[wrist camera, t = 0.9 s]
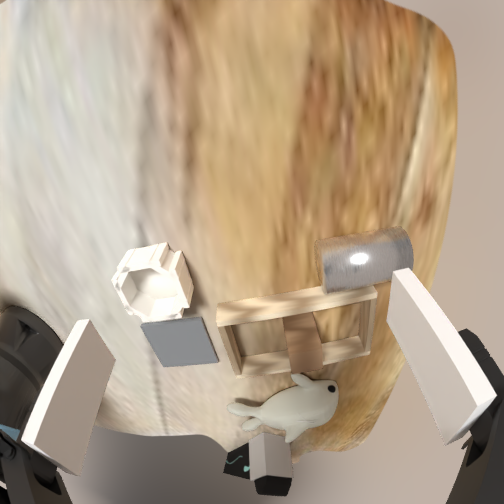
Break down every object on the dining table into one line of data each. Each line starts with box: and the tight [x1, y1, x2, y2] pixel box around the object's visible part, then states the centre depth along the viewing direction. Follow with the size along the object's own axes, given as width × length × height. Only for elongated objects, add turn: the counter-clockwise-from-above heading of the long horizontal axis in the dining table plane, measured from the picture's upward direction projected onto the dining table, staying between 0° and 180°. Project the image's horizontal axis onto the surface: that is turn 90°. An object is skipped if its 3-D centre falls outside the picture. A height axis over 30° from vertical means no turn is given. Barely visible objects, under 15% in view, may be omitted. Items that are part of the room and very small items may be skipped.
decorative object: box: [223, 432, 294, 496], centre depth 54 cm, size 8×18×15 cm, turn 144°
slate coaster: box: [141, 317, 218, 367], centre depth 40 cm, size 9×9×1 cm
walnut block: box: [282, 312, 323, 374], centre depth 36 cm, size 4×4×7 cm
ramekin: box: [112, 242, 194, 322], centre depth 33 cm, size 8×8×4 cm
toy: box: [227, 373, 339, 443], centre depth 44 cm, size 17×19×10 cm
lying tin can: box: [315, 226, 413, 295], centre depth 31 cm, size 10×6×6 cm, turn 100°
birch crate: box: [216, 285, 377, 379], centre depth 38 cm, size 20×12×4 cm, turn 100°
